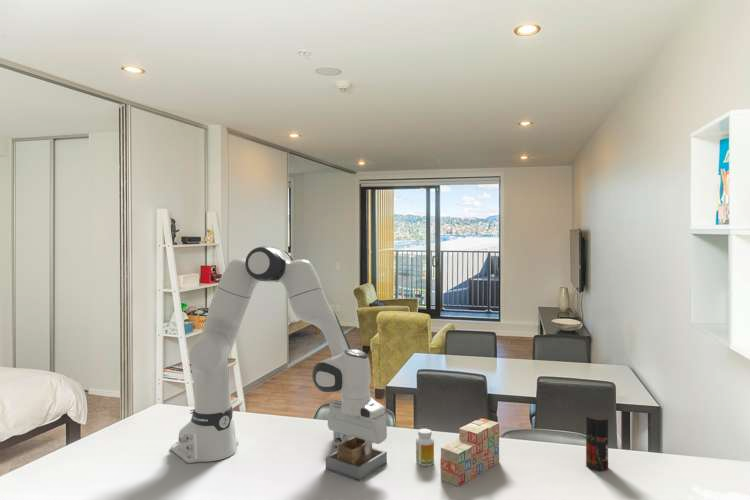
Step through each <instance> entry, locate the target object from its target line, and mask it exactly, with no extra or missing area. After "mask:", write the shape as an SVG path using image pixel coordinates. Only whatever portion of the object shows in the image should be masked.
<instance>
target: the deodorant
mask: <svg viewBox="0 0 750 500" xmlns="http://www.w3.org/2000/svg"><path fill="white" fill-rule="evenodd" d="M585 431H586V432H585V463H586V464H585V467H587V468H588V469H589V470H592V471H594V472H606V471H608V470H609V417H608V416H607V415H606V414H602V413H598V412H591V413H589V412H588V413H586V415H585Z"/></svg>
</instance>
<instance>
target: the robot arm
mask: <svg viewBox="0 0 750 500" xmlns="http://www.w3.org/2000/svg"><path fill="white" fill-rule="evenodd" d="M220 277H221V278H220V279H219V282H218V284H217V286H216V289H215V292H214V294H213V297H212V299H211V301H210V305H208V306H209V307H208V310H207V314H206V319H205V321H204V325H203V328H202V332H201V334H200V335H199V336H198V338H196V339H195V340H194V341H193V342H192V344H191V346H190V349H189V354H188V358H189V362H190V367H191V375H192V379H193V386H194V387H193V389H194V394H193V395H194V409H191V410H189V414H190V415H191V414H192V415H191V418H190V420H189V422H188V423H186V424H185V425H184V426H183V427H182V428H180V430H179V431H178V432H179V433H178V441H176V442H174V443H173V444H172V445H171V446H170V451H172V452H173V453H175V454H176V455H177V456H178V457H179V458H181V460H183V461H184V462H186V463H187V464H193V463H198V462H199V463H201V462H203V463H205V462H206V463H207V462H214V461H219V460H223V459H227V458H228V457H231V456H233V455H234V454H235V453H236V452H237V450H238V449H237V446H238V444H239V439H237V437H236V428H235V421H234V419H233V413H234V412H233V411H234V410H233V406H232V401H231V400H232V399H231V397H232V394H231V391H232V389H231V388H232V387H231V386H232V385H231V379H230V374H229V365H228V362H229V359H228V358H229V355H230V354H231V353H232V350H233V347H234V344H235V342H236V340H237V336H238V333H239V330H240V329H241V325H242V321H243V319H244V315H245V313H246V312H247V311H246V310H247V308H248V305H249V303H250V301H251V298H252V295H253V293H254V290H255V288H256V286H257V285H258V284H259V282H265V283H277V282H280V283H281V284H282V285H283V286H284V288H285V291H286V293H287V298H288V301H289V305H290V307H291V311H292V312H293V314H294V316H295V317H296V318H297V319H299V320H300V321H302V322H304V323H307V324H310V325H313V326H315V327H316V328H318V329H319V330H320V331H321V332H322V333H323V335H324V339H325V340H326V343H327V345H328V347H329V350H330V352H331V357H328V358H326V359H323V360H321V361H319V362H318V363H316V364H315V366H314V367H313V370H312V374H311V378H312V382H313V383H314V386H315V387H316V388H317V389H318V390H319V391H321V392H324V393H335V392H340V394H341V395H340V399H341V400H337V399H333V400H331V401H330V402H329V405H328V406H329V411H328V417H327V427H328V429H329V431H331V432H334V431H335V432H339V433H340V437H341V439H342V442H345V441H347V440H348V438H347V435H349V436H352V437H356V438H359V439H363V440H365V444H366V446H365V447H364V448H362V453H363V454H366V455H367V454H369V453H370V446H371V445H372V446H373V443H374V444H376V445H380V444H381V443H383V442H384V441H386V440H387V438H388V437H387V436H388V431H387V429H388V427H387V419H386V416H385V415H384V414H385V412H386V407H385V406H384V405H383V404H381V403H380V402H378V401H377V400H375V399H374V398H373V397H371V396H372V395H371V389H370V384H371V380H372V379H371V365H370V364H371V363H370V359H369V356H368V354H367V353H366V352H364V351H363V350H361V349H357V348H356V349H355V348H354V349H353V348H351V346H350V344H349V342H348V339H347V337H346V334H345V333H344V329H343V327H342V325H341V323H340V321H339V318H338V316H337V314H336V313H335V311H334V310H333V308H332V306H331V305H330V302H328V298H327V297H326V295H325V292H324V288H323V286H322V282H321V279H320V277H319V275H318V273H317V271H316V268H315V267H314V266H313V264H312V263H311V261H309V260H307V259H302V258H300V259H293V258H292V256H291V255H290V254H289V253H288V252H287V251H285V250H282V249H280V248H276V247H273V246H272V247H271V246H265V245H264V246H258V247H255V248H253V249H252V250H251V251H249V253H247V256H246V258H243V257H237V258H234V259H231V261H230V262H229V264H227V266H226V268H225V270H224V271H223V273H222V275H221V276H220Z"/></svg>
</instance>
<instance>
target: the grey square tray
mask: <svg viewBox="0 0 750 500" xmlns="http://www.w3.org/2000/svg"><path fill="white" fill-rule="evenodd" d="M387 453H388V452H387V451H384V450H382V449H378V448H374V447H372V459H371V460H369V461H367V462H366V463H364V464H362V465H361V466H359V467H357V466H354V465H351V464H348V463H346V462H343V461H340V460H337V451H334V452H333V453H331V454H329V455H327V456H325V458H324V459H325V470H327V471H330V472H333V473H336V474H338V475H341V476H343V477H347V478H350V479H353V480H355V481H358V482H360V481H362V480H364V479H365V478H366V477H368V476H369V475H371V474H372V473H374V472H376V471H377V470H379V469H380V468H382V467H383V466H385V465H387V462H388V458H387V457H388V454H387Z"/></svg>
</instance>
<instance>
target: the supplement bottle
mask: <svg viewBox="0 0 750 500" xmlns="http://www.w3.org/2000/svg"><path fill="white" fill-rule="evenodd" d="M432 433H433V432H432V430H431V429H428V428H420V429H418V433H417V435H418V436H417V438H416V440H415V454H416V455H415V462H416V464H417V465H419V466H422V467H430V466H432V465H434V464H435V463H434V462H435V442H434V441H435V439H434V438H433V437H432V435H433V434H432Z"/></svg>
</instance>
